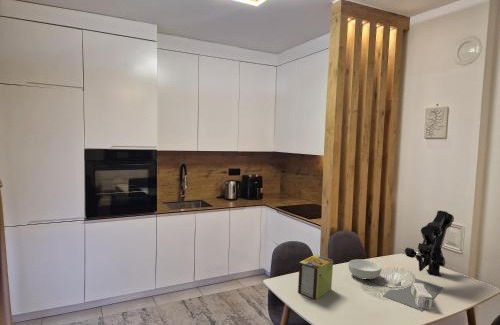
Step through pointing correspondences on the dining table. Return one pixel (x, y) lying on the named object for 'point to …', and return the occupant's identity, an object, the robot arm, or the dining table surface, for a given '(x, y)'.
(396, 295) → the rubber mat
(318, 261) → the protein box
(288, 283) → the dining table surface
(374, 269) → the cereal bowl
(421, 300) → the syrup box
